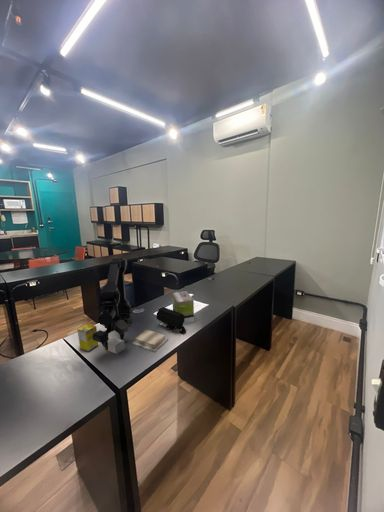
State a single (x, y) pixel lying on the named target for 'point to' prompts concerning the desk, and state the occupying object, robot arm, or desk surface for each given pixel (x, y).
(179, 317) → the security camera
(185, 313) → the tea box
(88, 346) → the supplement box
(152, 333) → the stand
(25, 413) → the desk surface
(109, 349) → the block
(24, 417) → the desk surface
